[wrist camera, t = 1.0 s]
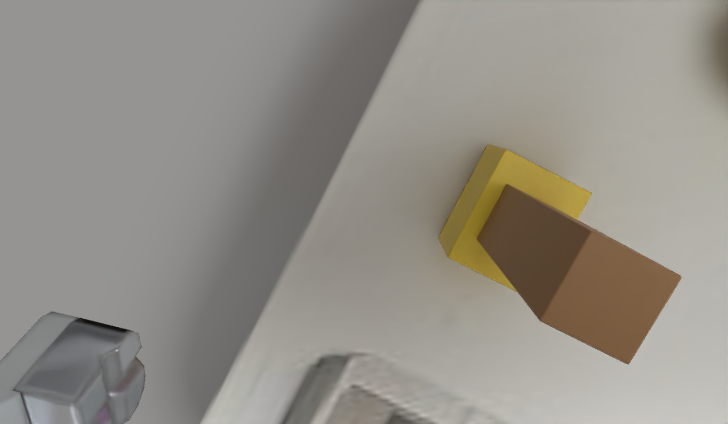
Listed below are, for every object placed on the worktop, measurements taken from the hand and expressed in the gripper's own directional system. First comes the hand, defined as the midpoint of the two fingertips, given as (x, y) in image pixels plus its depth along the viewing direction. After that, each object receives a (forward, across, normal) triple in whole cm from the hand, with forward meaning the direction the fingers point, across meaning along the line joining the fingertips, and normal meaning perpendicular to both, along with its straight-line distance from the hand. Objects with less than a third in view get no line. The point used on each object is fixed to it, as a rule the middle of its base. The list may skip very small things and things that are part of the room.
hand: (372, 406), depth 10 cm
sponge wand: (+19, -4, +7) cm, 20 cm away
